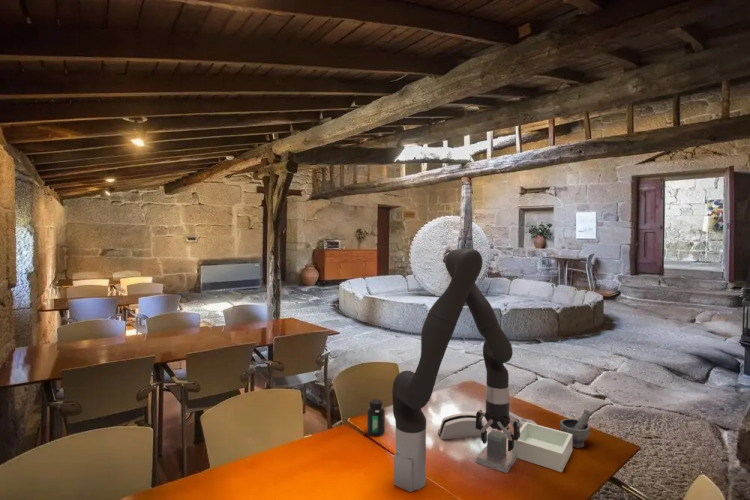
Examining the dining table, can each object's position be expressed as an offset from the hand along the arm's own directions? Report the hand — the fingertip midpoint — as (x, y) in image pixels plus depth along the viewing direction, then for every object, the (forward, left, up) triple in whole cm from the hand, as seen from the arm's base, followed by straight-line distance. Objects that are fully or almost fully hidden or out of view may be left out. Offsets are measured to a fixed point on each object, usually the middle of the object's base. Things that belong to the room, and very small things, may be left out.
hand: (497, 446), depth 137 cm
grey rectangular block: (0, 0, -3) cm, 3 cm away
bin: (+14, -11, -5) cm, 18 cm away
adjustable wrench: (+37, +6, -6) cm, 38 cm away
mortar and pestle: (+29, -19, -5) cm, 35 cm away
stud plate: (0, 0, -5) cm, 5 cm away
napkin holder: (+9, +17, -5) cm, 19 cm away
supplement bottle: (-8, +44, -5) cm, 45 cm away
